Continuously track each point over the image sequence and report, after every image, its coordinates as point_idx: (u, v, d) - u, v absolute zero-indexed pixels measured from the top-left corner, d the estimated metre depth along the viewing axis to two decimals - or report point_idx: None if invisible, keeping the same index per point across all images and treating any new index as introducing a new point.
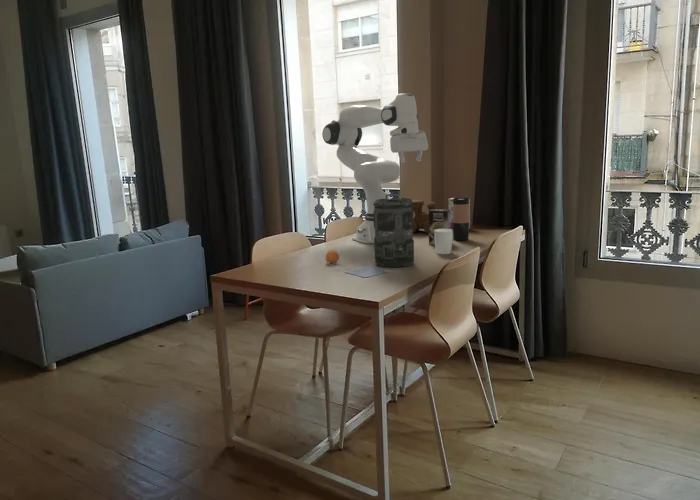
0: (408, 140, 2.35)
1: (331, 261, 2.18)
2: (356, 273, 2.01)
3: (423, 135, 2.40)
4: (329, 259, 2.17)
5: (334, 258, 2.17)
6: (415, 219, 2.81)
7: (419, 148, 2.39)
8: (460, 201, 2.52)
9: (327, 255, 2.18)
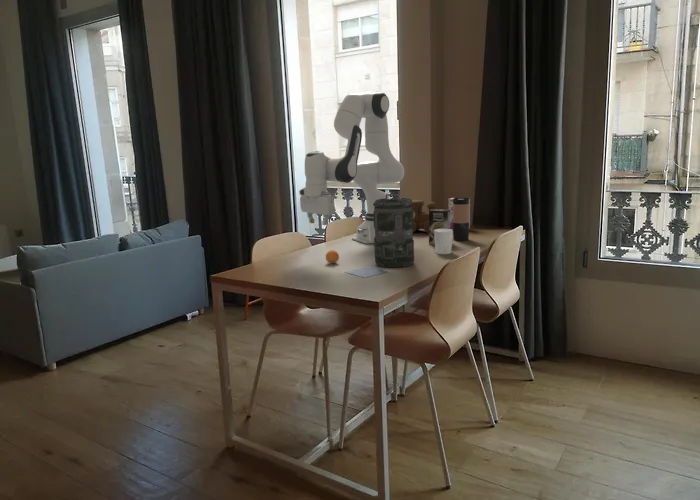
0: (311, 202, 2.23)
1: (331, 261, 2.18)
2: (356, 273, 2.01)
3: (323, 198, 2.15)
4: (329, 259, 2.17)
5: (334, 258, 2.17)
6: (415, 219, 2.81)
7: (319, 212, 2.19)
8: (460, 201, 2.52)
9: (327, 255, 2.18)
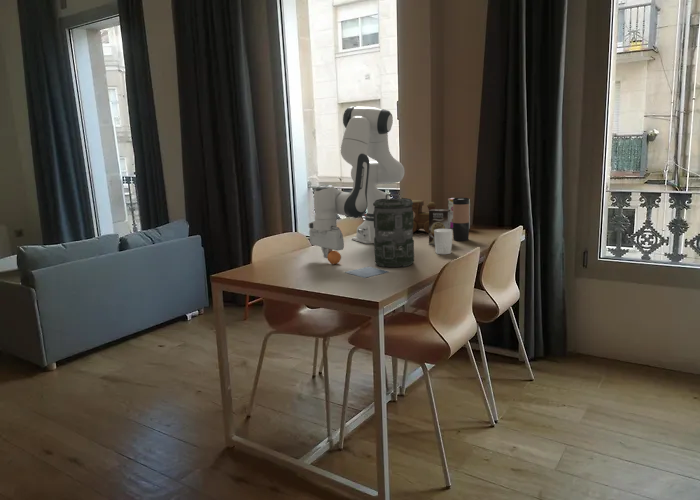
0: (320, 235, 2.21)
1: (332, 263, 2.17)
2: (356, 273, 2.01)
3: (332, 233, 2.13)
4: (331, 261, 2.16)
5: (336, 261, 2.16)
6: (415, 219, 2.81)
7: (328, 246, 2.16)
8: (460, 201, 2.52)
9: (329, 256, 2.16)
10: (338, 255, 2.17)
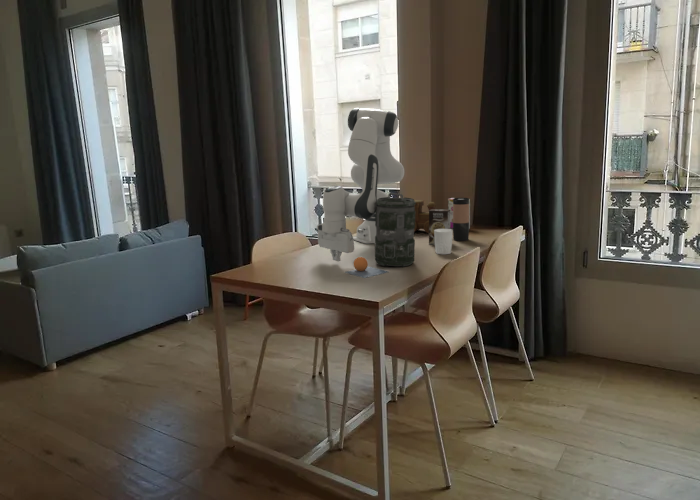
0: (329, 238, 2.16)
1: (359, 270, 2.04)
2: (356, 273, 2.01)
3: (342, 236, 2.08)
4: (357, 268, 2.03)
5: (363, 268, 2.03)
6: (415, 219, 2.81)
7: (338, 249, 2.12)
8: (460, 201, 2.52)
9: (356, 263, 2.03)
10: (365, 262, 2.03)
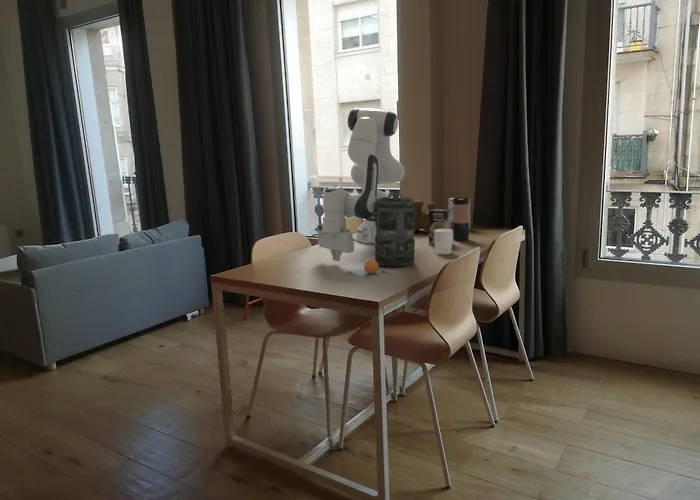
0: (329, 238, 2.16)
1: None
2: (356, 273, 2.01)
3: (342, 236, 2.08)
4: (364, 267, 2.00)
5: None
6: (415, 219, 2.81)
7: (338, 249, 2.12)
8: (460, 201, 2.52)
9: (366, 270, 1.98)
10: None
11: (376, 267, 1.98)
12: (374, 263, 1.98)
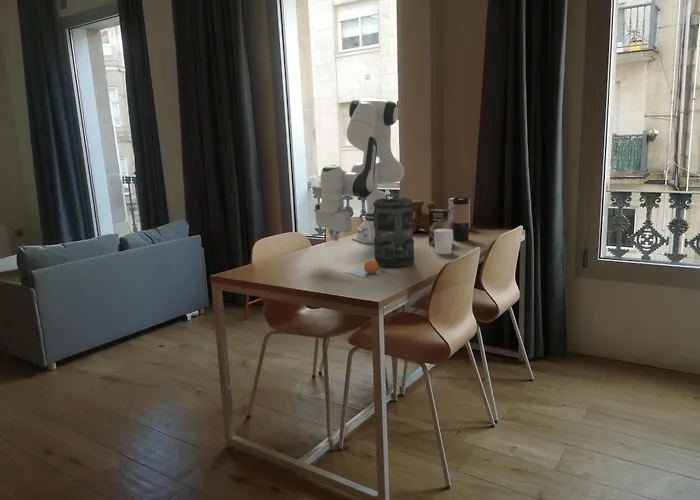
0: (327, 217, 2.15)
1: None
2: (356, 273, 2.01)
3: (340, 215, 2.07)
4: (364, 267, 2.00)
5: None
6: (415, 219, 2.81)
7: (336, 229, 2.11)
8: (460, 201, 2.52)
9: (366, 270, 1.98)
10: None
11: (376, 267, 1.98)
12: (374, 263, 1.98)
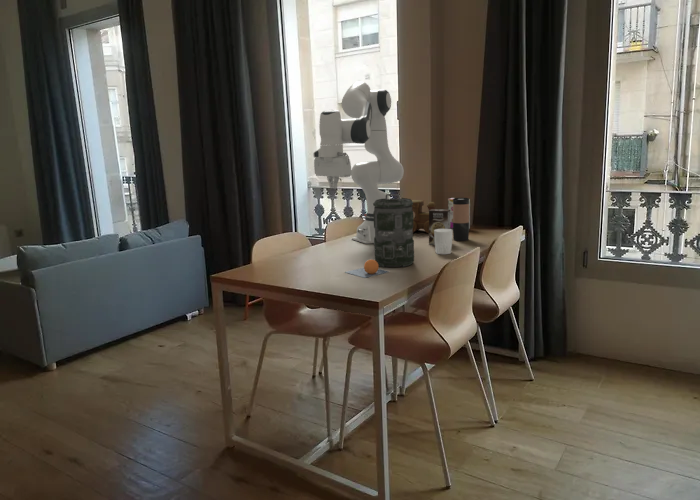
0: (326, 164, 2.10)
1: None
2: (356, 273, 2.01)
3: (339, 159, 2.02)
4: (364, 267, 2.00)
5: None
6: (415, 219, 2.81)
7: (335, 174, 2.06)
8: (460, 201, 2.52)
9: (366, 270, 1.98)
10: None
11: (376, 267, 1.98)
12: (374, 263, 1.98)
